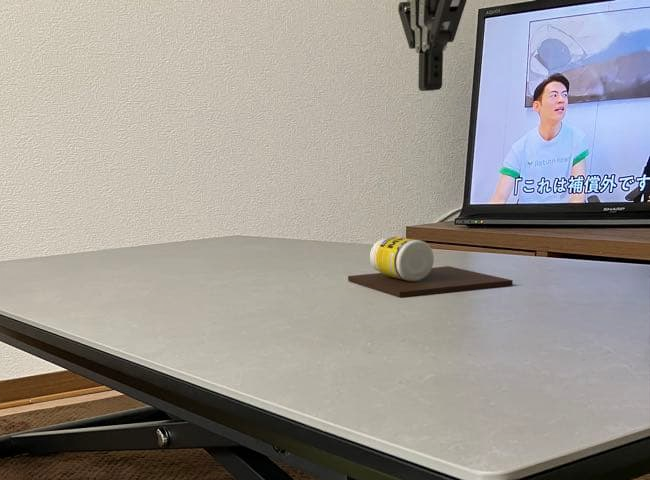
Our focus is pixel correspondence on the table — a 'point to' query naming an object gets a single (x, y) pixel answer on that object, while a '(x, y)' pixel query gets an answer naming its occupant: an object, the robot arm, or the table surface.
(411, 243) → the supplement bottle
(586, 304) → the table surface
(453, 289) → the mat
